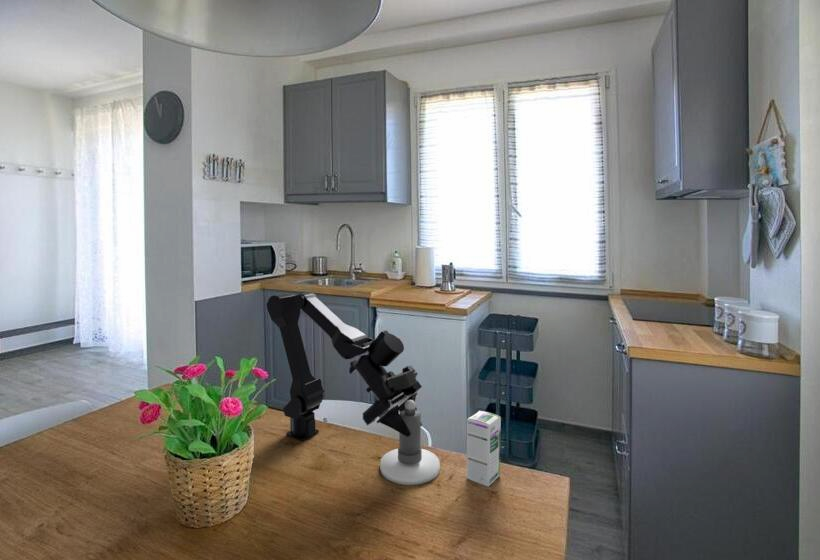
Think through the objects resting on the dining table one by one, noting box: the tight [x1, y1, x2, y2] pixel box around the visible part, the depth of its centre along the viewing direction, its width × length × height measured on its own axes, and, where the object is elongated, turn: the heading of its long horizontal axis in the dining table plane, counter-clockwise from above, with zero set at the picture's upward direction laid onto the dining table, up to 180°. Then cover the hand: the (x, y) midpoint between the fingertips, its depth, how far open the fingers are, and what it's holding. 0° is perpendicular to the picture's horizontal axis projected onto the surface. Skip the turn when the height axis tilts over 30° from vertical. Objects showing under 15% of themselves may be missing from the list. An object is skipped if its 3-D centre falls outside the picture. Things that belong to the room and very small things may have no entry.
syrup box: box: [466, 410, 502, 487], centre depth 98 cm, size 6×6×14 cm
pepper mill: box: [397, 400, 422, 465], centre depth 102 cm, size 6×6×14 cm
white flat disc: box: [379, 447, 441, 486], centre depth 103 cm, size 14×14×2 cm
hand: (415, 431), depth 101 cm, fingers closed on pepper mill, 5 cm apart
